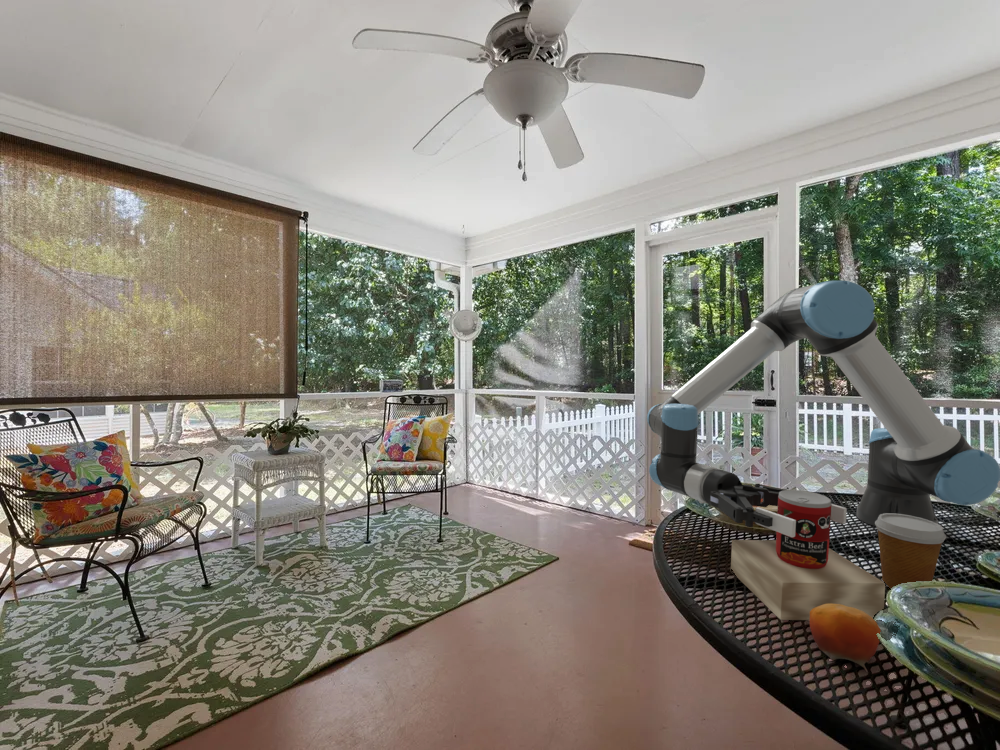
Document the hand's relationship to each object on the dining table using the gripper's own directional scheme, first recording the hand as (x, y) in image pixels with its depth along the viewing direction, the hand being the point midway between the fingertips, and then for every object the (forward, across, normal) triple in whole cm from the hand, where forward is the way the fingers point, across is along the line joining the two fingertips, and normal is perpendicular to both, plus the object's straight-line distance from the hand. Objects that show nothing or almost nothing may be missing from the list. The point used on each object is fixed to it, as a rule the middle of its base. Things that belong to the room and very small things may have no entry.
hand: (820, 522), depth 79 cm
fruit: (+10, +10, -14) cm, 20 cm away
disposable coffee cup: (+4, -19, -14) cm, 24 cm away
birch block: (-3, 0, -14) cm, 14 cm away
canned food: (-3, 0, -8) cm, 8 cm away
